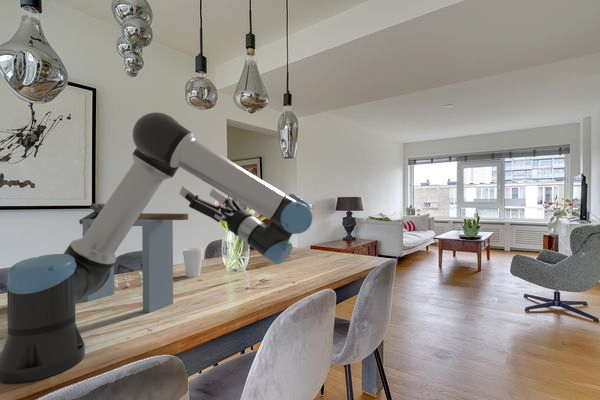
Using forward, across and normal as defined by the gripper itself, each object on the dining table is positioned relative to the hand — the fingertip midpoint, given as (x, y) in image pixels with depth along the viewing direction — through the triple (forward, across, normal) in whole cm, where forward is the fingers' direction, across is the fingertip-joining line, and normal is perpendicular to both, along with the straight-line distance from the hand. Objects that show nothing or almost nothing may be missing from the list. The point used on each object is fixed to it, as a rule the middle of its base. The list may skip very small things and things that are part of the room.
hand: (197, 190), depth 101 cm
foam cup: (+14, +41, -54) cm, 69 cm away
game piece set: (+27, +21, -63) cm, 72 cm away
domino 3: (+26, 0, -26) cm, 37 cm away
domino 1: (+36, 0, -30) cm, 47 cm away
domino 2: (+30, 0, -28) cm, 41 cm away
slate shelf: (+8, 0, -51) cm, 51 cm away
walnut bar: (+10, 0, -17) cm, 20 cm away
